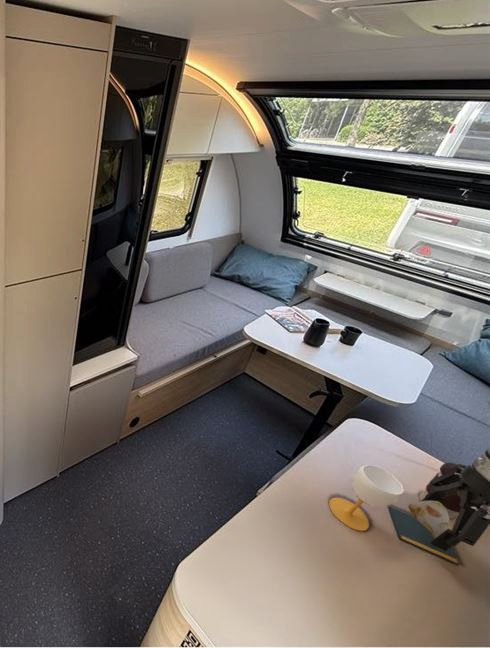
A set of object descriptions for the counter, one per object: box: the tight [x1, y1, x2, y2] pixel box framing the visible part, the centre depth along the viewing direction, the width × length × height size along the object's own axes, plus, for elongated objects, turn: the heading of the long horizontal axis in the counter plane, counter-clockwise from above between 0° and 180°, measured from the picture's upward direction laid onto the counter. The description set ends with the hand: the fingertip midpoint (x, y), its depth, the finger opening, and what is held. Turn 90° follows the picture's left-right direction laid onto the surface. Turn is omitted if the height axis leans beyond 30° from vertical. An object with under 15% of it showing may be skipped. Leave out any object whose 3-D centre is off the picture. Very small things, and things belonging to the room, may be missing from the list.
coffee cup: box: [419, 462, 473, 520], centre depth 99 cm, size 10×10×15 cm
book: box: [387, 505, 461, 566], centre depth 95 cm, size 12×10×1 cm
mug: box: [407, 500, 453, 538], centre depth 92 cm, size 8×10×10 cm
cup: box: [328, 464, 405, 532], centre depth 94 cm, size 9×9×16 cm
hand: (429, 527), depth 93 cm, fingers closed on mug, 10 cm apart
